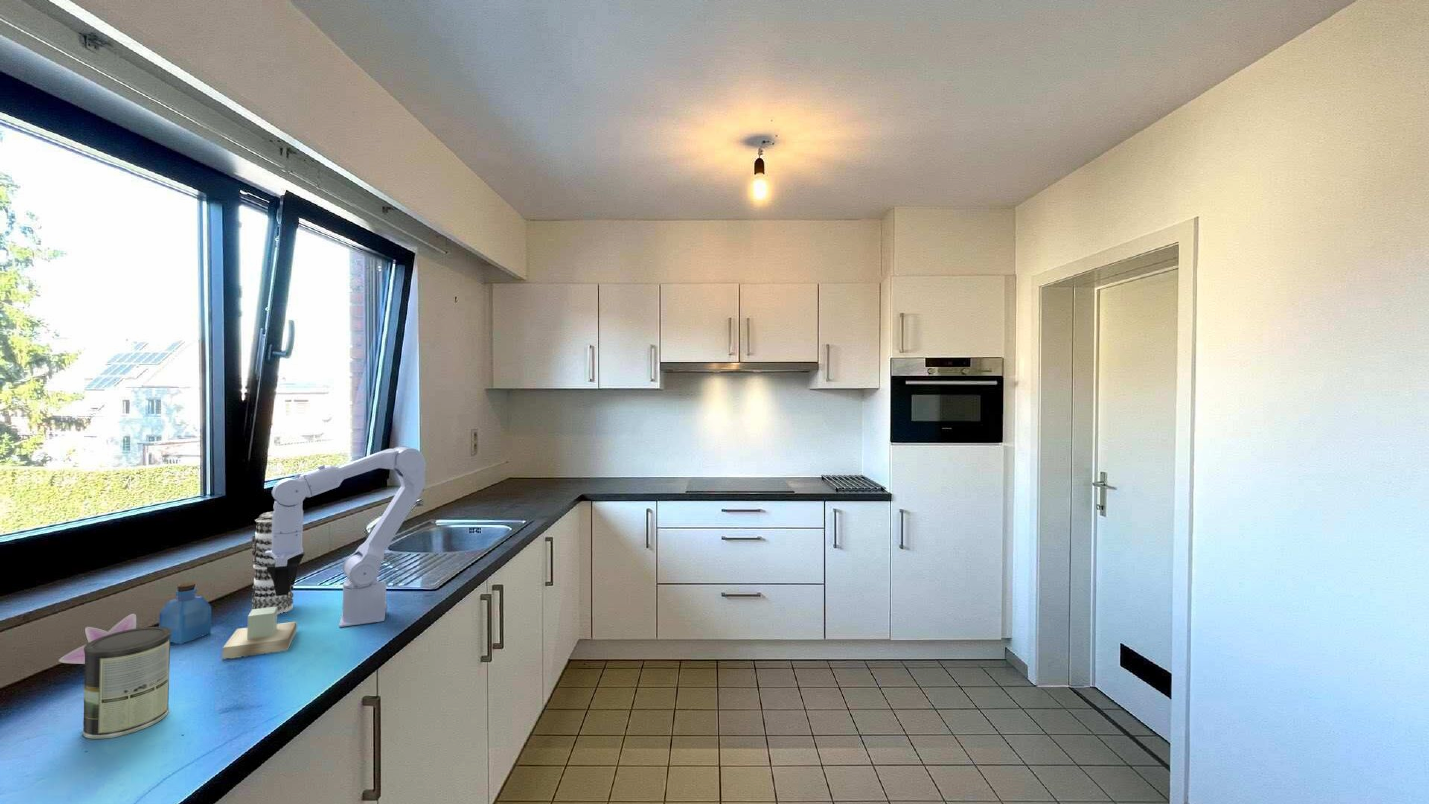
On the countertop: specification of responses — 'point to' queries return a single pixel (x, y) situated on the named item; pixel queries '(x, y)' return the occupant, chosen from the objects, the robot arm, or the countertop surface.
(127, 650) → the coffee can
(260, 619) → the sage block
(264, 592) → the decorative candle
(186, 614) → the perfume bottle
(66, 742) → the countertop surface
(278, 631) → the birch slab
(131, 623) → the lily
